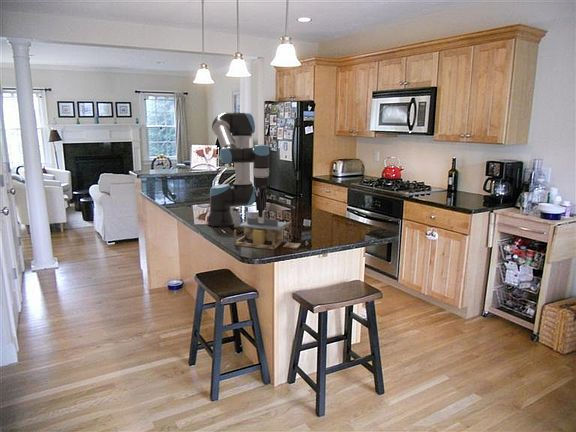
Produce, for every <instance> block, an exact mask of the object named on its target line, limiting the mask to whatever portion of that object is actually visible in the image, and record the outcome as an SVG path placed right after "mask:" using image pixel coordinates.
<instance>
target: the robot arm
mask: <svg viewBox="0 0 576 432" xmlns="http://www.w3.org/2000/svg"><path fill="white" fill-rule="evenodd" d="M255 128H256V124H255V120H254V117H253V115H252V114H251V113H249V112H223V113H220V114H218V115H216V116H215V117H214V119H213V120H212V124H211V130H212V132H213V133H214V135H215V136H216V138H217V140H218V143H219V146H220V150H219V160H220V162H221V163H225V164H234V171H235V172H234V174H235V176H234V177H235V180H234V182H233V183H232V186H231V185H230V183H222V184H216V185H213V186H211V187H210V189H209V202H210V203H209V209H210V211H209V215H208V218H207V226H209V225H211V226H210V227H212V226H219V227H218V228H225V227H231V226H233V225H234V218H233V216H232V213H231V207H247V206H253V204H254V203H255V209H256V211H257V216H258V217H257V218H258V223H264V219H265V211H266V210H267V199H268V198H267V197H268V191H269V188H267V186H268V185H269V184H270V177H269V176H270V170H269V169H270V147H269V145H268V144H256V145H255V144H254V146H251V147H250V139H252V137H253V135H252V134H254V133H255V131H256V130H255ZM251 163H253V176H254V177H253V182H252V181H251V170H250V169H251V166H250V165H251ZM255 185H256V186H255Z"/></svg>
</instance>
